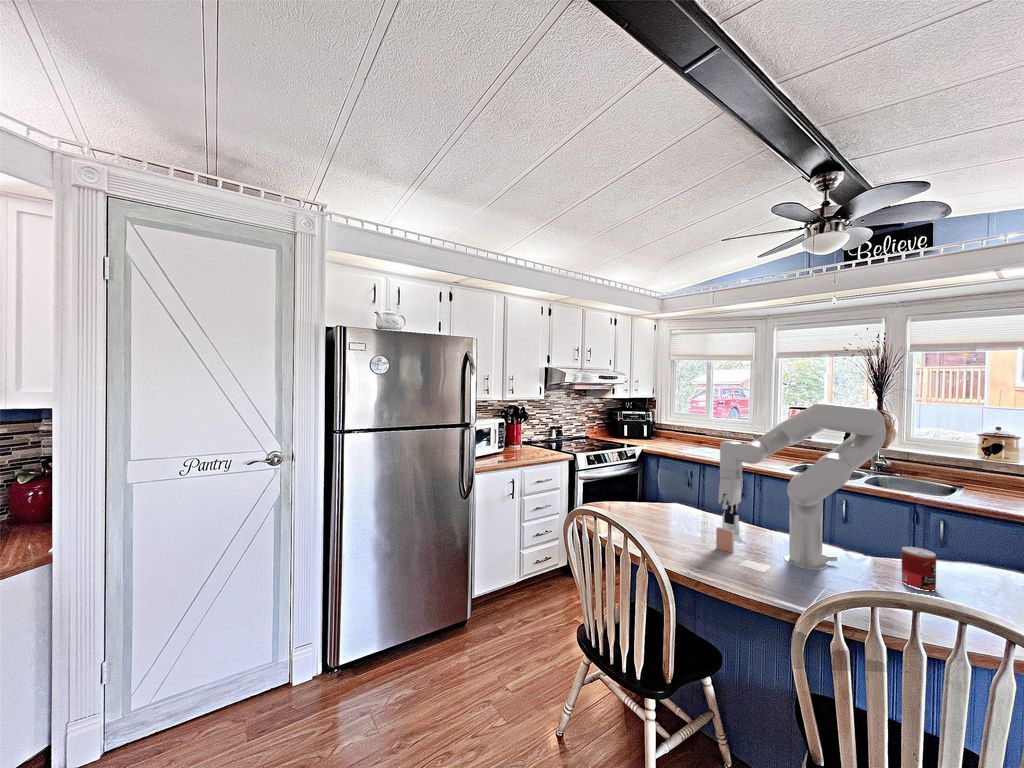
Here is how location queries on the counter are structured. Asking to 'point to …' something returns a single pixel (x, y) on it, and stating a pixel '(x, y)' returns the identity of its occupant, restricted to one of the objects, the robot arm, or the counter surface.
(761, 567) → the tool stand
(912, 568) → the canned food
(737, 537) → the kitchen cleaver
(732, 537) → the tile
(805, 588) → the counter surface
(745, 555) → the counter surface
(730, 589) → the counter surface
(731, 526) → the steel turner
